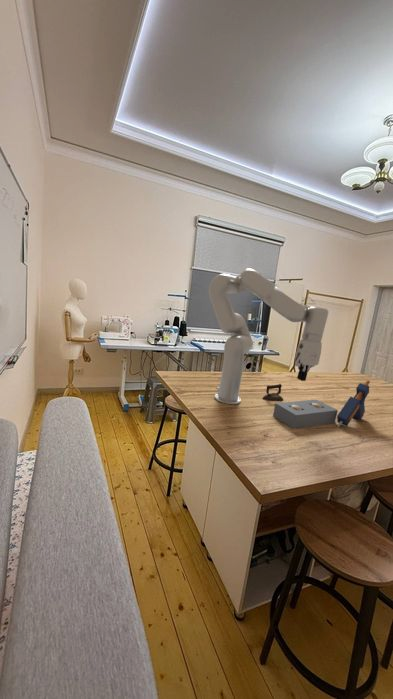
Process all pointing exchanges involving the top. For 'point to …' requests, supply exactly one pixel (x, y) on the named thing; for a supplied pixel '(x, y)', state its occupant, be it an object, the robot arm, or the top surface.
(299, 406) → the dowel
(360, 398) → the glue gun
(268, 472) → the top surface
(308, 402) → the block
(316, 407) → the dowel
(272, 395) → the clothes iron
